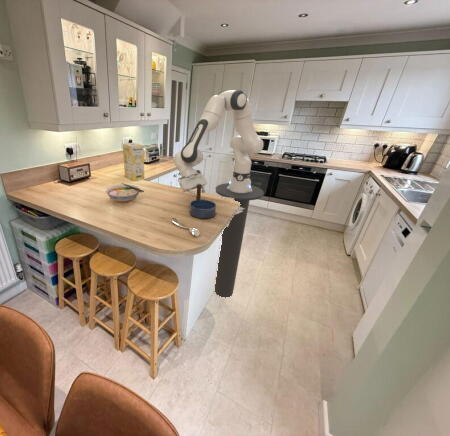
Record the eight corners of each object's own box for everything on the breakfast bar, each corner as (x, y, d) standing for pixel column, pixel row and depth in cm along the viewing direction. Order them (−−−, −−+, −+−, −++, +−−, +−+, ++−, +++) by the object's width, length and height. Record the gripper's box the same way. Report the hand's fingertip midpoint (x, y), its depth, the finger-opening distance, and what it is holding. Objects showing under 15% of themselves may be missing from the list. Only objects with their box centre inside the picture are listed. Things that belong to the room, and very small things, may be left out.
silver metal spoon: (169, 216, 126) (176, 213, 128) (169, 221, 127) (175, 219, 130) (194, 232, 112) (201, 230, 114) (194, 239, 114) (201, 236, 116)
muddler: (195, 203, 152) (196, 182, 146) (202, 204, 150) (203, 183, 144) (193, 206, 148) (194, 184, 142) (200, 207, 147) (201, 185, 140)
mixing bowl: (193, 206, 147) (194, 198, 144) (217, 211, 141) (218, 201, 139) (185, 216, 135) (186, 206, 132) (211, 221, 129) (212, 211, 126)
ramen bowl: (100, 198, 159) (98, 187, 155) (128, 191, 172) (127, 180, 169) (118, 210, 142) (117, 197, 138) (148, 201, 155) (148, 189, 151)
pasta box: (144, 179, 201) (143, 145, 189) (133, 180, 196) (131, 146, 184) (135, 174, 215) (133, 142, 203) (124, 175, 210) (122, 143, 198)
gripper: (179, 175, 139) (190, 195, 137) (202, 170, 151) (212, 188, 149) (174, 181, 144) (184, 200, 142) (196, 175, 156) (206, 192, 154)
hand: (199, 194), depth 145 cm, fingers open, 8 cm apart
